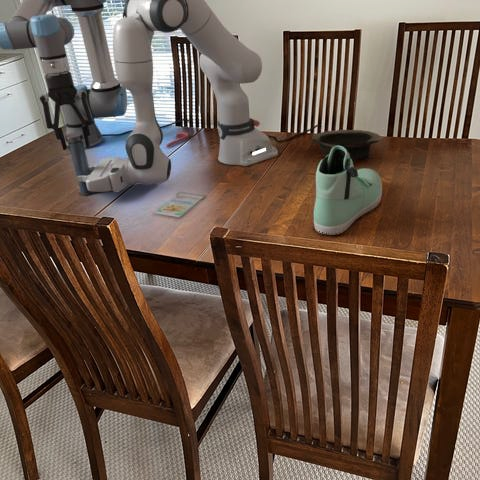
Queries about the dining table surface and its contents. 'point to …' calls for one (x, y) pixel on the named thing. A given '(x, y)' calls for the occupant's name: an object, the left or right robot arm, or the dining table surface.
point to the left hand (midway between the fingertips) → (76, 147)
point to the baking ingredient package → (179, 204)
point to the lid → (74, 137)
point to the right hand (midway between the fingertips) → (81, 174)
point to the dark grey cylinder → (80, 163)
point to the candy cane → (185, 135)
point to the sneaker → (343, 192)
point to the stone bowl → (347, 142)
